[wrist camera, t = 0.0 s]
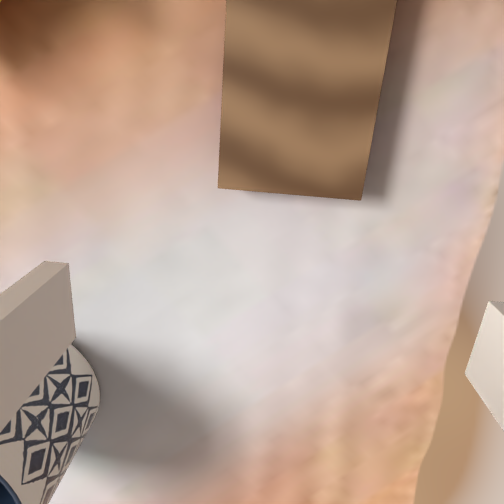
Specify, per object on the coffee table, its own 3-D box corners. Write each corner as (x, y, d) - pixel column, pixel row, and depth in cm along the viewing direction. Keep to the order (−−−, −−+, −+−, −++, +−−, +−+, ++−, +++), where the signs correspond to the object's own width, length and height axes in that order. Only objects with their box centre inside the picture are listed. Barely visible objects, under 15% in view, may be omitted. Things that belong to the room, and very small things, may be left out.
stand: (232, -39, 33) (228, -51, 30) (392, -26, 33) (403, -37, 30) (221, 181, 40) (217, 188, 37) (354, 192, 39) (361, 200, 37)
